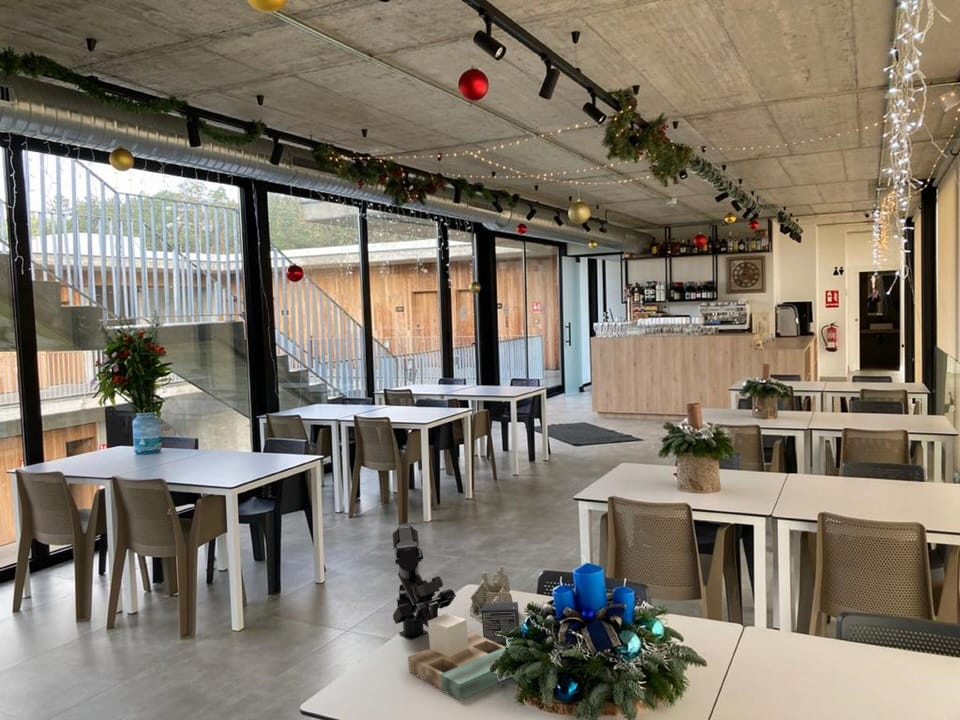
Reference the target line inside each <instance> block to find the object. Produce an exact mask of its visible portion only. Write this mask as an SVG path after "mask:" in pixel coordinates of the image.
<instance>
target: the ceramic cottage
mask: <svg viewBox="0 0 960 720" xmlns="http://www.w3.org/2000/svg"><path fill="white" fill-rule="evenodd" d="M510 591H511V588H510V582H509V575H508V574H507V573H506V574H505V572H504V566H502V565H501V566H500V567H499V568H498V570H497V573H493V575H492V584H491V583H489V578H488V572H487V571H482V572H481V582H480V584H479V585H478V587H477V588H476V589H475V590H474V591H473V593H472V595H471V597H470V600H471V601H472V602H471V605H470V607H469V611H468V613H469V614H470V615H469V616H470V617H471V616H472V618H473V619H474V618H475V619H474V620H476V621H477V620H478V621H477V622H478V623H480V622H481V623H480V624H482V614H481V609H482V605H483V603H507V602H514V601H513V597H512V594H511V592H510Z"/></svg>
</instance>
